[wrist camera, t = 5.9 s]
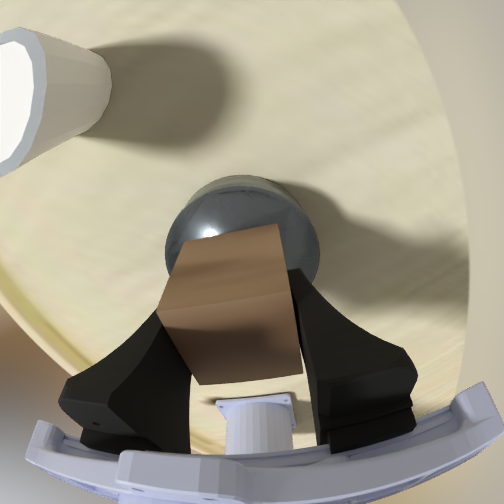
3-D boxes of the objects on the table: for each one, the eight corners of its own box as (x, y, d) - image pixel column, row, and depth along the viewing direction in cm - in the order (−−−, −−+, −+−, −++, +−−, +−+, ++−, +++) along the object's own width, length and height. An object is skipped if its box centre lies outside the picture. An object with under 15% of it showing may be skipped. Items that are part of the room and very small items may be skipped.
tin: (311, 281, 19) (320, 310, 17) (194, 296, 20) (188, 325, 17) (303, 163, 15) (315, 176, 13) (161, 185, 16) (145, 203, 13)
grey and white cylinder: (105, 21, 10) (32, -4, 4) (136, 113, 13) (65, 127, 7) (28, 80, 11) (-48, 91, 5) (55, 162, 14) (-18, 202, 8)
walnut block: (290, 298, 15) (303, 373, 11) (210, 311, 15) (199, 385, 11) (277, 223, 13) (290, 290, 8) (184, 241, 13) (155, 311, 9)
